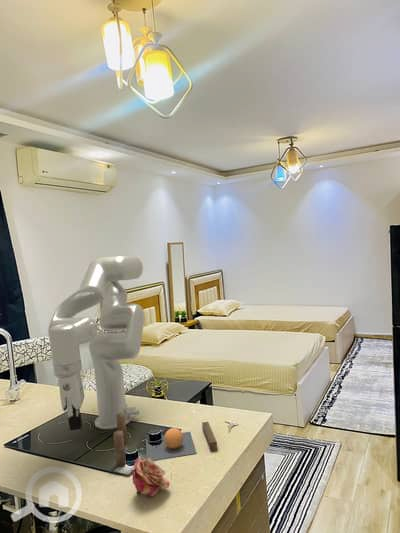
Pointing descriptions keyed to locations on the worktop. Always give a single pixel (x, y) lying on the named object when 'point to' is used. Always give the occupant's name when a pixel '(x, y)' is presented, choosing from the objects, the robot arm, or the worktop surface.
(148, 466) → the flower
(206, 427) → the brown wooden bar
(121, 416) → the far post
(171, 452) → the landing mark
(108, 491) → the worktop surface
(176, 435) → the ball
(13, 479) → the worktop surface
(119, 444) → the near post
